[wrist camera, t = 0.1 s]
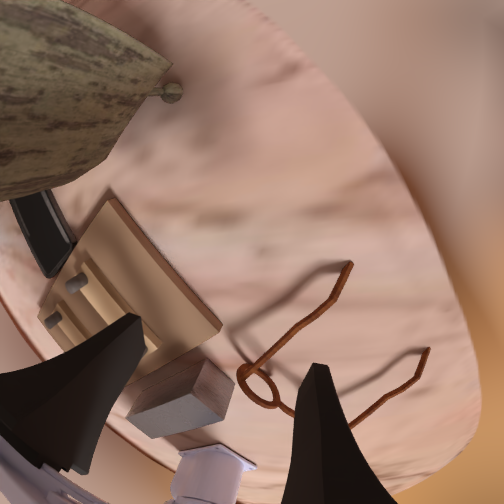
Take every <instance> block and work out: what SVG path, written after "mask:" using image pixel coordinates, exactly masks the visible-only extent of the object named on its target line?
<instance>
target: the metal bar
mask: <svg viewBox="0 0 504 504" xmlns="http://www.w3.org/2000/svg"><path fill="white" fill-rule="evenodd" d="M234 386H235V383H234V382H233V381H232V380H231V379H229V378H228V377H227V376H226V375H225V374H224V373H223V372H222V371H221V370H220V369H218V368H217V367H216V366H215V365H214V364H213V363H212V362H211V361H210V360H209V359H208V358H206V359H204V360H202V361H201V362H199V363H197V364H195V365H193V366H191V367H189V368H187V369H186V370H184V371H182V372H180V373H178V374H176V375H174V376H172V377H170V378H168V379H166V380H164V381H162V382H160V383H158V384H156V385H154V386H152V387H150V388H148V389H146V390H144V391H142V393H141V394H140V396H139V397H138V399H137V400H136V402H135V403H134V405H133V407H132V408H131V410H130V411H129V413H128V414H127V416H126V417H125V418H126V419H127V420H128V421H129V422H131V423H132V424H133V425H134V426H136V427H137V428H138V429H139V430H141V431H142V432H143V433H145V434H146V435H147V436H149V437H150V438H151V439H154V438H159V437H163V436H168V435H172V434H176V433H180V432H184V431H188V430H192V429H196V428H199V427H203V426H206V425H210V424H213V423H216V422H219V421H223V420H224V418H225V415H226V412H227V409H228V406H229V402H230V399H231V396H232V393H233V390H234Z"/></svg>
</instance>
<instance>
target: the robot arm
mask: <svg viewBox="0 0 504 504" xmlns="http://www.w3.org/2000/svg"><path fill="white" fill-rule="evenodd" d="M145 349H146V345H145V339H144V333H143V326H142V320H141V316H138V315H136V314H133V313H130V312H128V313H127V314H125V315H124V316H122V317H121V318H119V319H118V320H116V321H115V322H113V323H112V324H110V325H109V326H107V327H106V328H104V329H103V330H101V331H100V332H98V333H97V334H95V335H93V336H92V337H90V338H89V339H87V340H86V341H84V342H82V343H80V344H79V345H77V346H75V347H74V348H72V349H70V350H68V351H66V352H64V353H62V354H60V355H58V356H56V357H54V358H52V359H50V360H47V361H44V362H42V363H39V364H36V365H34V366H31V367H28V368H24V369H21V370H17V371H13V372H7V373H1V374H0V491H1V492H2V493H3V495H4V496H5V497H6V498H7V499H8V501H9V502H10V503H11V504H81V503H83V504H109V503H107V502H106V501H104V500H102V499H100V498H98V497H96V496H94V495H93V494H91V493H89V492H88V491H86V490H84V489H83V488H81V487H80V486H78V485H76V484H75V483H73V482H72V481H70V480H69V479H67V478H66V477H64V476H63V475H62V474H60V473H59V471H60V470H61V469H63V470H64V471H66V472H69V470H70V468H71V469H73V470H74V471H76V472H77V473H79V474H80V475H87V474H88V473H89V469H90V465H91V461H92V458H93V454H94V451H95V448H96V445H97V442H98V439H99V437H100V434H101V431H102V429H103V426H104V424H105V422H106V419H107V417H108V415H109V413H110V411H111V409H112V407H113V405H114V403H115V401H116V400H117V398H118V397H119V395H120V393H121V392H122V390H123V389H124V387H125V385H126V384H127V382H128V381H129V379H130V377H131V376H132V374H133V373H134V371H135V369H136V368H137V366H138V364H139V362H140V360H141V358H142V355H143V353H144V351H145ZM178 454H179V455H180V456H182V459H181V461H180V463H179V466H178V468H177V470H176V473H175V475H174V478H173V480H172V482H171V487H170V488H171V494H172V496H173V498H174V499H175V500H174V499H170V500H168V501H166V502H165V503H164V504H235V502H236V498H237V494H238V490H239V486H240V482H241V478H242V474H243V472H244V471H250V470H255V469H257V466H256V465H254V464H252V463H251V462H249V461H247V460H245V459H244V458H242V457H241V456H239V455H237V454H236V453H234V452H233V451H231V450H229V449H228V448H226V447H225V446H223V445H222V444H216V445H211V446H206V447H202V448H196V449H191V450H185V451H179V453H178ZM67 494H69V495H71V496H72V497H73V498H75V499H76V500H78V501H80V502H81V503H79V502H77V501H75V500H73V499H71V498H69V497H68V496H67ZM281 504H398V503H397V502H396V501H395V500H394V499H393V498H392V497H391V495H390V494H389V493H388V492H387V490H386V489H385V488H384V487H383V485H382V484H381V483H380V481H379V480H378V478H377V477H376V475H375V474H374V472H373V471H372V469H371V468H370V466H369V465H368V463H367V461H366V460H365V458H364V456H363V454H362V453H361V451H360V449H359V447H358V445H357V443H356V441H355V439H354V437H353V434H352V432H351V430H350V428H349V425H348V423H347V420H346V418H345V415H344V413H343V410H342V407H341V404H340V402H339V399H338V396H337V393H336V390H335V386H334V383H333V380H332V376H331V373H330V369H329V367H328V365H324V364H318V363H312V365H311V367H310V369H309V371H308V373H307V375H306V377H305V379H304V380H303V382H302V384H301V386H300V388H299V389H298V395H297V400H296V406H295V414H294V428H293V443H292V456H291V463H290V469H289V473H288V478H287V482H286V486H285V490H284V494H283V498H282V502H281Z"/></svg>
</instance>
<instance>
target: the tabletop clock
mask: <svg viewBox="0 0 504 504" xmlns="http://www.w3.org/2000/svg"><path fill="white" fill-rule="evenodd" d="M172 65H173V63H171V62H170V61H169V60H167V59H166V58H164V57H163V56H161V55H160V54H158V53H157V52H155V51H154V50H152V49H151V48H149V47H148V46H146V45H144V44H143V43H141V42H140V41H138V40H136V39H135V38H133V37H131V36H130V35H128V34H126V33H125V32H123V31H121V30H119V29H118V28H116V27H114V26H112V25H111V24H109V23H107V22H105V21H103V20H101V19H99V18H97V17H95V16H93V15H92V14H90V13H87V12H85V11H83V10H81V9H79V8H77V7H75V6H73V5H71V4H68V3H66V2H64V1H61V0H0V202H1V201H6V200H10V199H15V198H19V197H24V196H27V195H30V194H34V193H37V192H41V191H44V190H48V189H51V188H55V187H59V186H62V185H65V184H67V183H70V182H72V181H74V180H76V179H77V178H79V177H80V176H82V175H83V174H85V173H86V172H88V171H89V170H91V169H93V168H94V167H96V166H97V165H99V164H100V163H101V162H103V161H104V160H105V159H106V158H107V157H108V155H109V153H110V152H111V150H112V148H113V147H114V145H115V143H116V142H117V140H118V138H119V137H120V135H121V134H122V132H123V131H124V129H125V127H126V126H127V124H128V123H129V121H130V120H131V118H132V117H133V116H134V114H135V113H136V111H137V110H138V108H139V107H140V106H141V104H142V103H143V101H144V100H145V99H146V97H147V96H161V98H162V100H163V101H164V102H167V103H170V104H171V103H174V102H176V101H178V100H180V98H181V96H182V94H183V92H182V88H181V86H180V85H179V84H176V83H168V84H167V85H165V86H163V88H156V87H155V86H156V84H157V83H158V82H159V81H160V79H161V78H162V77H163V76H164V74H165V73H166V72H167V71H168V70H169V68H170V67H171V66H172Z"/></svg>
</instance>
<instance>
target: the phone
mask: <svg viewBox="0 0 504 504" xmlns="http://www.w3.org/2000/svg"><path fill="white" fill-rule="evenodd" d="M9 201H10V204H11V207H12V209H13V212H14V214H15V217H16V219H17V221H18V224H19V226H20V228H21V231H22V233H23V235H24V237H25V239H26V241H27V244H28V246H29V248H30V250H31V252H32V254H33V256H34V258H35V260H36V261H37V263H38V265H39V267H40V269H41V271H42V273H43V274H44V276H45V277H46V278H51V277H53V276H55V275H56V274H57V273H58V272H59V270H60V269H61V268H62V267H63V266H64V265H65V263H66V261H67V260H68V258H69V256H70V255H71V253H72V251H73V250H74V248H75V247H76V245H77V241H76V238H75V236H74V234H73V233H72V231H71V229H70V227H69V225H68V223H67V222H66V220H65V218H64V216H63V214H62V212H61V210H60V208H59V206H58V204H57V202H56V200H55V198H54V195H53V193H52V191H51V189H48V190H44V191H41V192H37V193H34V194H30V195H27V196H24V197H19V198H15V199H10V200H9Z"/></svg>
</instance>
